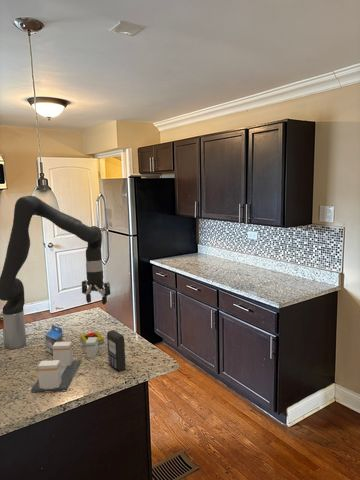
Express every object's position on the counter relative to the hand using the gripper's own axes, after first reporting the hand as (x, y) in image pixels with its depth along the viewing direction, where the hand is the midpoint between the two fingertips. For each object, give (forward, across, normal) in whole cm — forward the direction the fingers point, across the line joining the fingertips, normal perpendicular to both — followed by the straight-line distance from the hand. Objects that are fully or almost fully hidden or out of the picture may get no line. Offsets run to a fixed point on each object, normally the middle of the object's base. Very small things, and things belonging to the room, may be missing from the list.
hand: (96, 303), depth 167 cm
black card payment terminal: (+22, +18, -14) cm, 32 cm away
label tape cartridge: (+22, -17, -11) cm, 30 cm away
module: (+22, +1, -7) cm, 23 cm away
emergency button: (+23, -7, +4) cm, 24 cm away
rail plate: (+22, -1, -28) cm, 36 cm away
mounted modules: (+21, -1, -28) cm, 35 cm away
